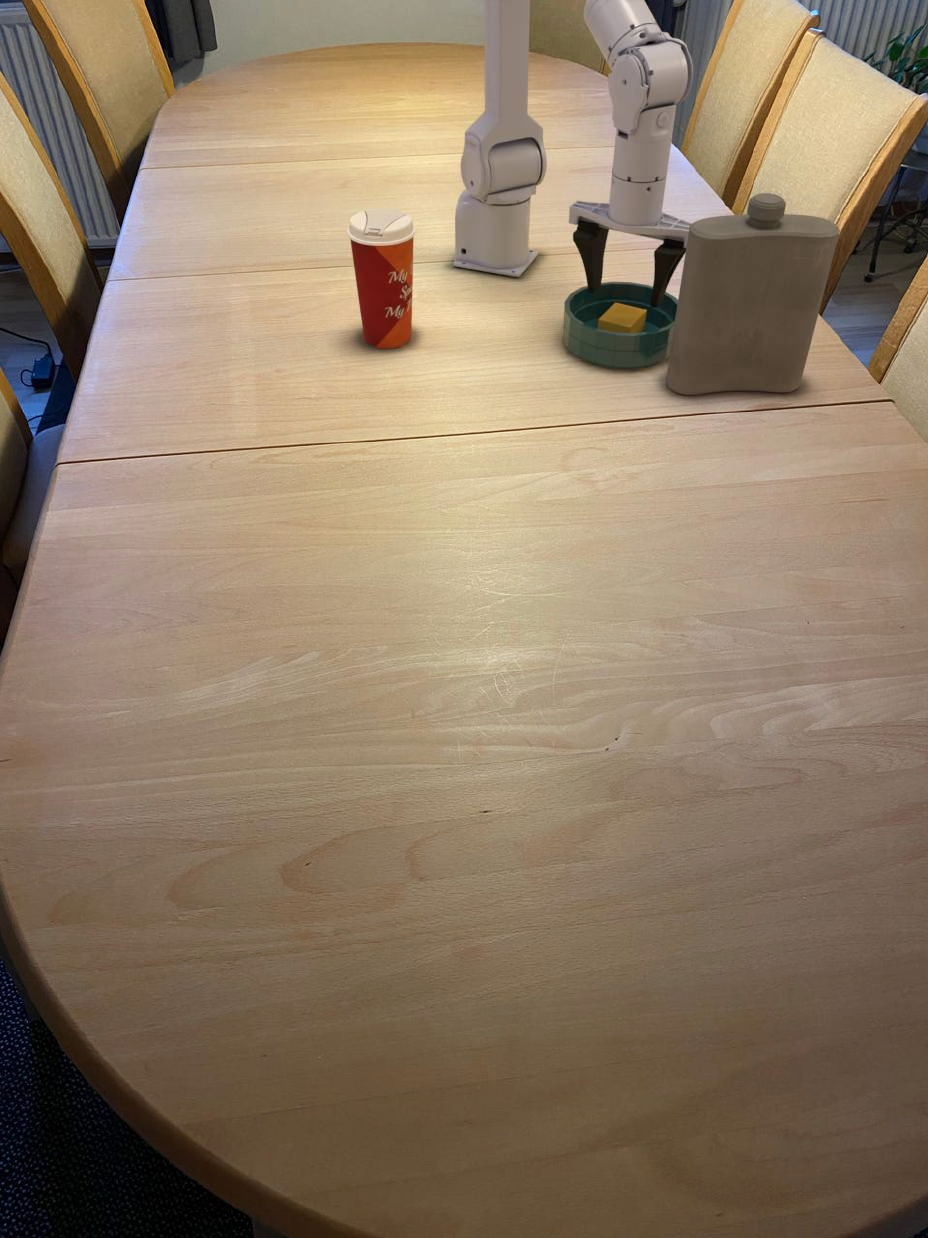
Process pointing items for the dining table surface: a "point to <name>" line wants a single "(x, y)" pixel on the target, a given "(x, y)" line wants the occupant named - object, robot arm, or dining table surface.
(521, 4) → the robot arm
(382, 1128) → the dining table surface
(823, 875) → the dining table surface
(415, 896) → the dining table surface
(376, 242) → the paper cup
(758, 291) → the flask
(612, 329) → the yellow block
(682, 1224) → the dining table surface
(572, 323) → the bowl
